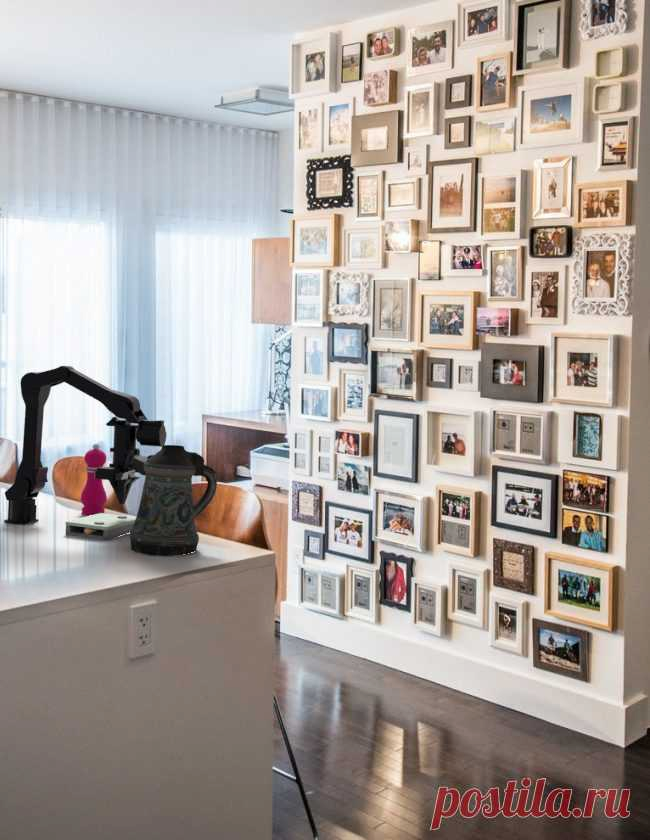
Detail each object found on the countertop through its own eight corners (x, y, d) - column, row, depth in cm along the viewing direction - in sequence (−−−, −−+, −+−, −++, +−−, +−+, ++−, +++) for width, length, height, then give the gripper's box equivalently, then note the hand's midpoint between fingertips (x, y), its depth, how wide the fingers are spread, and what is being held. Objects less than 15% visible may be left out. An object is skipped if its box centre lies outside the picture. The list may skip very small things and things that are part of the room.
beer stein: (114, 547, 242) (119, 443, 240) (176, 539, 257) (180, 440, 255) (160, 559, 232) (165, 450, 230) (221, 550, 246) (226, 447, 245)
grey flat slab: (65, 534, 254) (65, 524, 254) (100, 525, 269) (100, 516, 269) (107, 540, 250) (107, 530, 250) (139, 530, 265) (140, 521, 265)
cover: (65, 524, 253) (65, 520, 253) (100, 515, 269) (101, 511, 269) (107, 530, 250) (107, 525, 249) (140, 521, 265) (140, 516, 265)
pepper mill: (109, 513, 289) (112, 443, 288) (101, 517, 282) (104, 445, 280) (84, 511, 290) (87, 441, 288) (76, 515, 282) (79, 444, 281)
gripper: (133, 449, 250) (130, 512, 252) (169, 444, 268) (167, 502, 269) (94, 445, 254) (91, 507, 255) (133, 440, 272) (130, 498, 273)
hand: (122, 504), depth 263 cm, fingers closed
